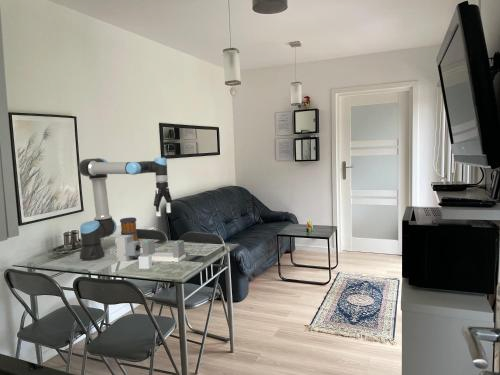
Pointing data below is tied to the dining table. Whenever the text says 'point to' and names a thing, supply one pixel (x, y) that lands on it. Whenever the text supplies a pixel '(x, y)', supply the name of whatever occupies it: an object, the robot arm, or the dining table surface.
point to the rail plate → (175, 256)
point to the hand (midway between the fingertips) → (163, 214)
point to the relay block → (145, 261)
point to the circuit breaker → (127, 247)
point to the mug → (129, 227)
